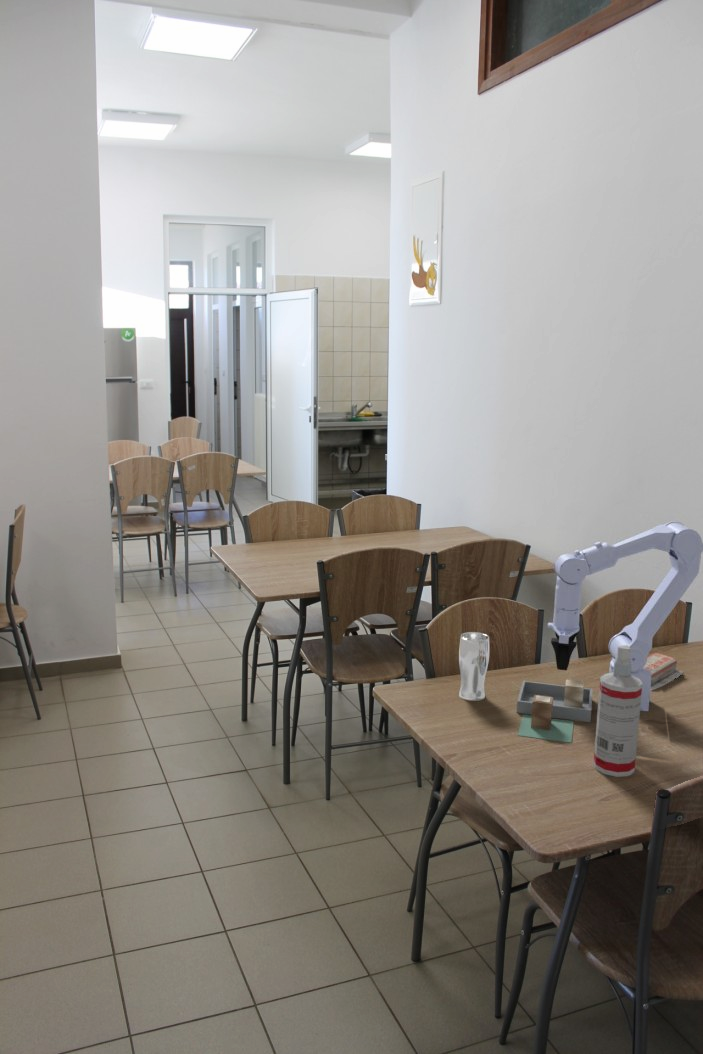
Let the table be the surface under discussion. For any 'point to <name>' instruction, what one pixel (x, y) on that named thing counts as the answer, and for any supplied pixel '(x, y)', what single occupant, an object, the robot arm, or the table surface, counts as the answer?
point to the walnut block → (542, 712)
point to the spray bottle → (618, 718)
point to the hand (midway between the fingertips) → (563, 663)
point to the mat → (557, 732)
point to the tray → (554, 701)
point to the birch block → (574, 693)
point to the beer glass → (473, 665)
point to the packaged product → (661, 669)
